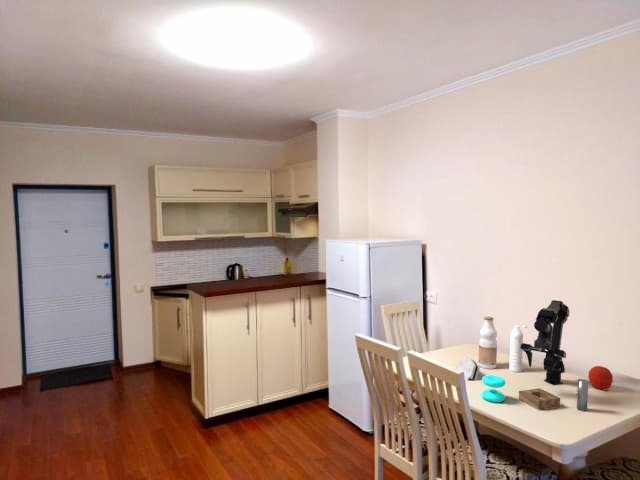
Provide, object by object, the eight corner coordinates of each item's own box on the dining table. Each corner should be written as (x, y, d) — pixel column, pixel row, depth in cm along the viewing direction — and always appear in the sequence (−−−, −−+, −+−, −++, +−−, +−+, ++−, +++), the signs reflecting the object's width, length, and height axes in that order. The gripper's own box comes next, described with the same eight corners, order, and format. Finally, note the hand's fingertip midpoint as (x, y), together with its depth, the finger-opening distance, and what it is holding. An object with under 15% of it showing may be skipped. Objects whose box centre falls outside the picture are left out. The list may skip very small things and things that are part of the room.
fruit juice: (484, 370, 252) (486, 319, 250) (475, 364, 261) (476, 315, 259) (499, 368, 254) (501, 319, 252) (489, 363, 263) (491, 315, 261)
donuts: (482, 373, 218) (505, 375, 214) (481, 393, 218) (504, 396, 215) (482, 380, 208) (505, 383, 205) (481, 401, 209) (505, 404, 206)
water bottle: (511, 372, 248) (513, 326, 247) (507, 368, 255) (508, 324, 253) (528, 372, 248) (529, 327, 247) (523, 368, 254) (524, 324, 253)
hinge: (453, 369, 251) (459, 352, 251) (460, 372, 252) (467, 355, 252) (467, 380, 235) (474, 362, 235) (475, 383, 236) (482, 365, 236)
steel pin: (581, 407, 204) (582, 378, 203) (589, 410, 200) (590, 381, 199) (574, 408, 202) (575, 379, 202) (582, 411, 199) (583, 382, 198)
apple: (614, 388, 227) (615, 365, 226) (609, 393, 219) (610, 370, 219) (590, 382, 233) (591, 360, 233) (585, 388, 226) (586, 365, 225)
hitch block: (539, 396, 215) (539, 388, 215) (560, 406, 204) (560, 398, 204) (518, 399, 212) (518, 390, 211) (538, 410, 200) (538, 401, 200)
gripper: (519, 329, 216) (514, 362, 213) (563, 336, 205) (559, 371, 201) (525, 333, 225) (521, 365, 221) (568, 340, 213) (564, 374, 209)
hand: (540, 368), depth 213 cm, fingers open, 9 cm apart
